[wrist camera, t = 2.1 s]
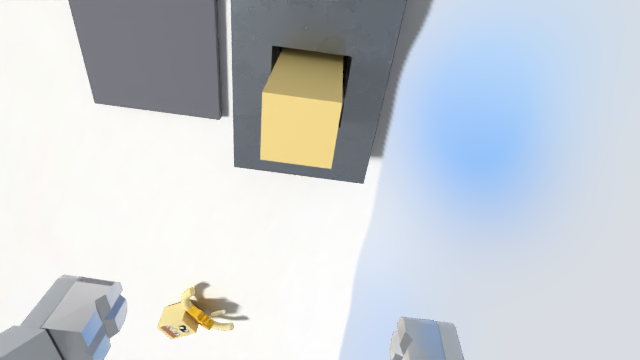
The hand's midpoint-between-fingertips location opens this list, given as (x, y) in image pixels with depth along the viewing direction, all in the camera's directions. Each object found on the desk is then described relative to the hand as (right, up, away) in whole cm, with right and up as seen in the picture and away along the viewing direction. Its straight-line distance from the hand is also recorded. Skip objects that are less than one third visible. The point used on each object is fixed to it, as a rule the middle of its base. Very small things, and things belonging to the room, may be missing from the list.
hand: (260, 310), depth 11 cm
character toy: (-12, -12, +36) cm, 40 cm away
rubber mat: (-11, +14, +16) cm, 24 cm away
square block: (+1, +12, +17) cm, 21 cm away
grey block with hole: (+1, +12, +17) cm, 21 cm away
